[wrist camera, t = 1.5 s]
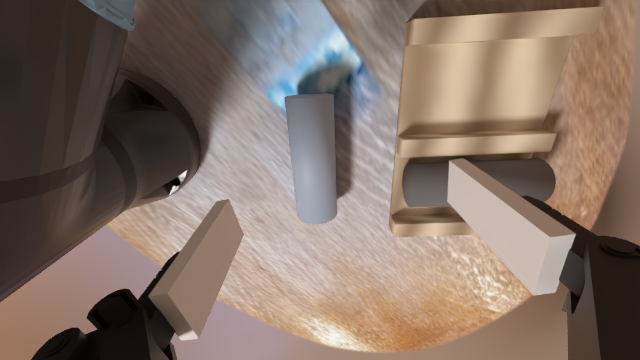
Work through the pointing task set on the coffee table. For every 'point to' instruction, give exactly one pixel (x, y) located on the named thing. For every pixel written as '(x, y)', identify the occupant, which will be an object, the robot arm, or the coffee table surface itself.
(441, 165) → the charcoal rod
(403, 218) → the slot rack
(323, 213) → the gray dowel
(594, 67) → the coffee table surface
